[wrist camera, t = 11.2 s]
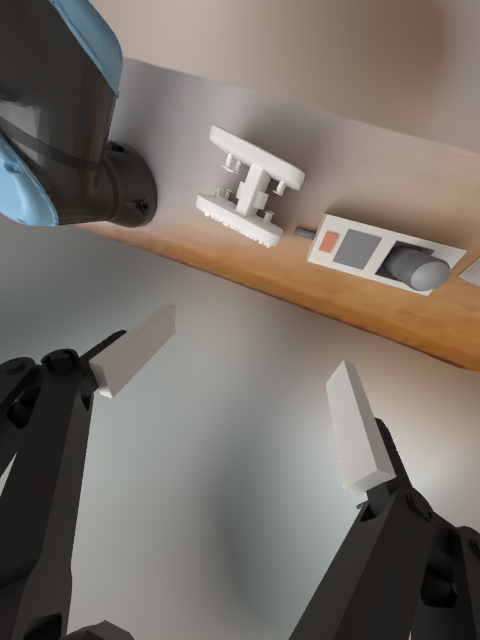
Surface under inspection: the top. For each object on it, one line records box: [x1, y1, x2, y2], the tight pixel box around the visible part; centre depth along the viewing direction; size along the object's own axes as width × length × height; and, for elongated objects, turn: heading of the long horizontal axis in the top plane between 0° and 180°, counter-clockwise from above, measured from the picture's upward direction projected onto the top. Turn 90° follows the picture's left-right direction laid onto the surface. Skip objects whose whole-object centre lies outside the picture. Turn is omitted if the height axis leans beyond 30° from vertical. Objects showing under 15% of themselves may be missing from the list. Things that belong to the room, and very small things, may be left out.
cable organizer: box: [196, 125, 305, 248], centre depth 31 cm, size 15×11×12 cm
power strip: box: [294, 214, 467, 296], centre depth 34 cm, size 26×8×5 cm, turn 77°
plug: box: [381, 246, 450, 291], centre depth 30 cm, size 5×5×10 cm
